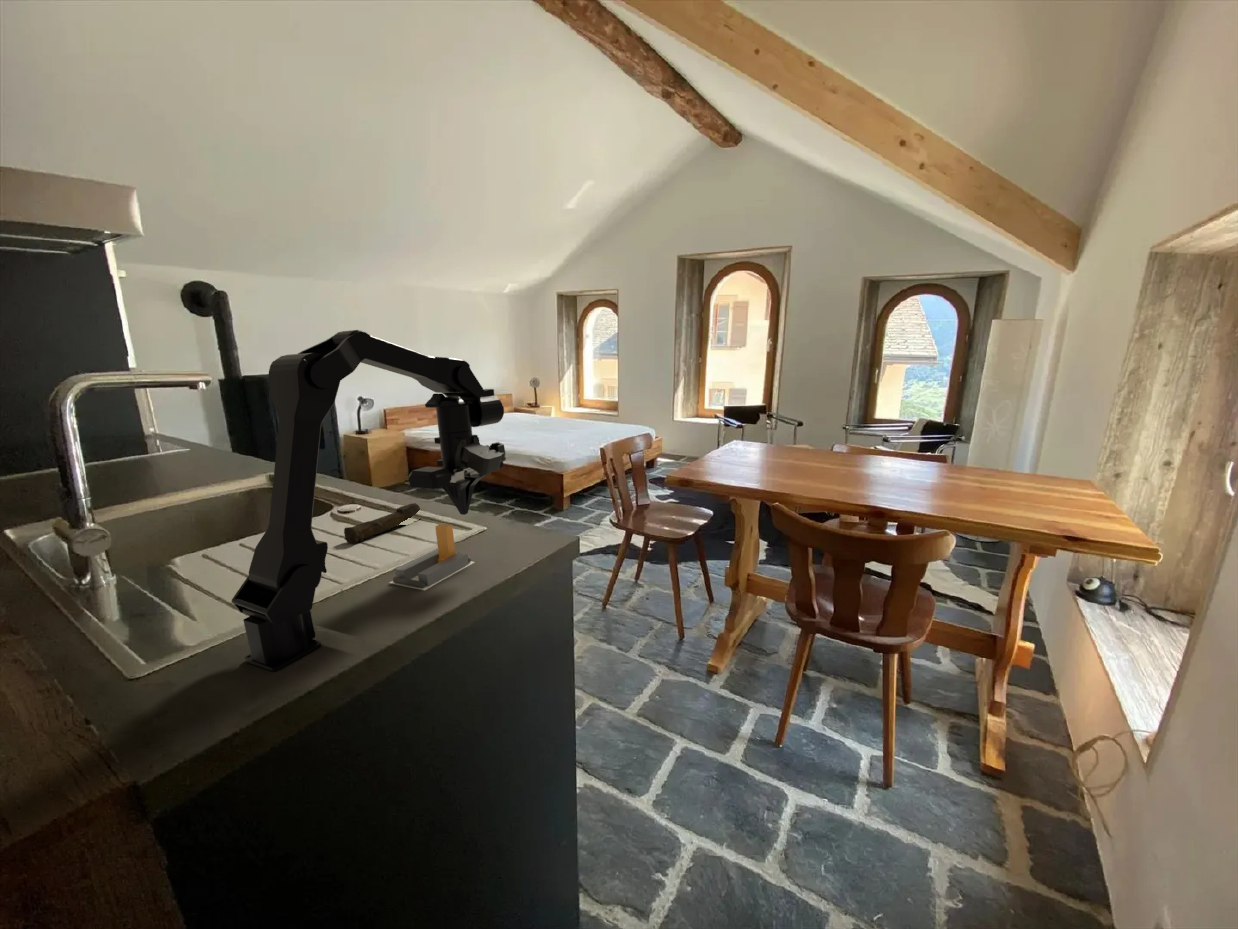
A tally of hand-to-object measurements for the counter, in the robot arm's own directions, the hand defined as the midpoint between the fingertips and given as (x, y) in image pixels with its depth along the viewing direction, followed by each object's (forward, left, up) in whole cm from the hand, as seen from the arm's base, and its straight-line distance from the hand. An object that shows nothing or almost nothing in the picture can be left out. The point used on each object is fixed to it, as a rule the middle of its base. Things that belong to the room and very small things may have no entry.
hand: (464, 514), depth 95 cm
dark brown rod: (+8, +32, -10) cm, 34 cm away
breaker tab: (-5, 0, -8) cm, 9 cm away
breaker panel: (-9, 0, -9) cm, 13 cm away
